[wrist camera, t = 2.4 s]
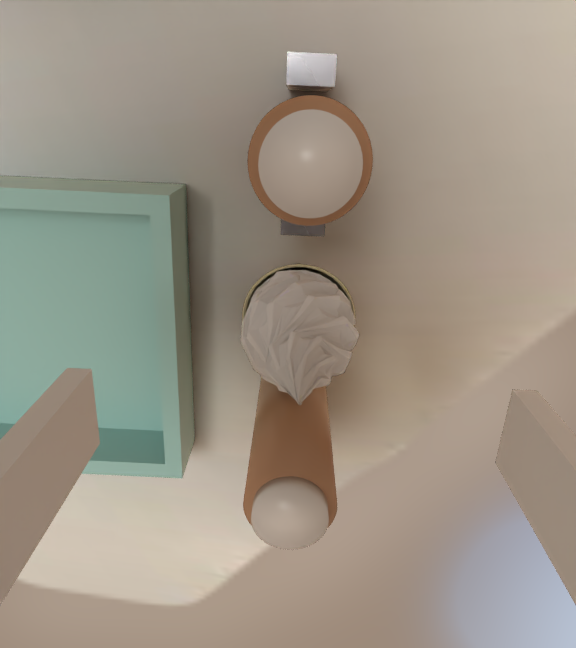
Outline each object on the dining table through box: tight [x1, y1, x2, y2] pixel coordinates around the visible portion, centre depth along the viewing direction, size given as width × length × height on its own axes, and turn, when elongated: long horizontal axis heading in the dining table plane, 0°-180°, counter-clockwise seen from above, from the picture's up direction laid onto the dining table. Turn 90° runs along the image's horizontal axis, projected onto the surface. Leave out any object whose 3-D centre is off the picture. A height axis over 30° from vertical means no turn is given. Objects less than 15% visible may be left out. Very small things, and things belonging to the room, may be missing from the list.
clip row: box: [281, 52, 337, 237], centre depth 27 cm, size 21×2×6 cm, turn 178°
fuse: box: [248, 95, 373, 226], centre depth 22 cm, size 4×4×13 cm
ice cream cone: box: [240, 263, 359, 405], centre depth 23 cm, size 5×5×15 cm
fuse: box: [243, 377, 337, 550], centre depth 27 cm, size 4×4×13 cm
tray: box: [0, 176, 195, 478], centre depth 30 cm, size 17×17×4 cm
